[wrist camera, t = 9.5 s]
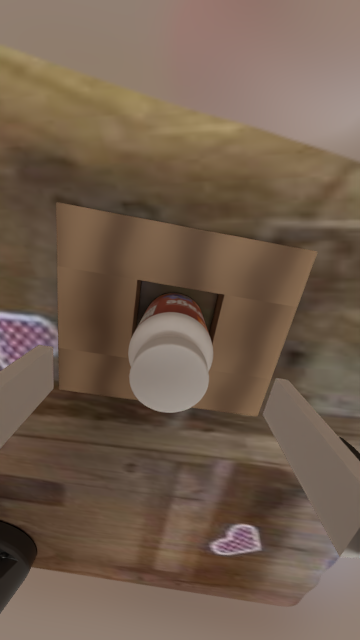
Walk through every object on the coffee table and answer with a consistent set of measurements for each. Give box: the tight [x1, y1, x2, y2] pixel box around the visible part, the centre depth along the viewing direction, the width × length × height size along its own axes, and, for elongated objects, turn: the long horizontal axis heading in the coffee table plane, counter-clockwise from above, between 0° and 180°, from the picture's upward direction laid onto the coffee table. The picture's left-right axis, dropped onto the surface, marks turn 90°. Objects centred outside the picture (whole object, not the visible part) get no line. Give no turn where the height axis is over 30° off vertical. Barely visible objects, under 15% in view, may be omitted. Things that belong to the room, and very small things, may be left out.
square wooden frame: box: [56, 202, 317, 416], centre depth 21 cm, size 22×18×2 cm
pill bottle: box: [128, 293, 213, 413], centre depth 17 cm, size 6×6×11 cm
